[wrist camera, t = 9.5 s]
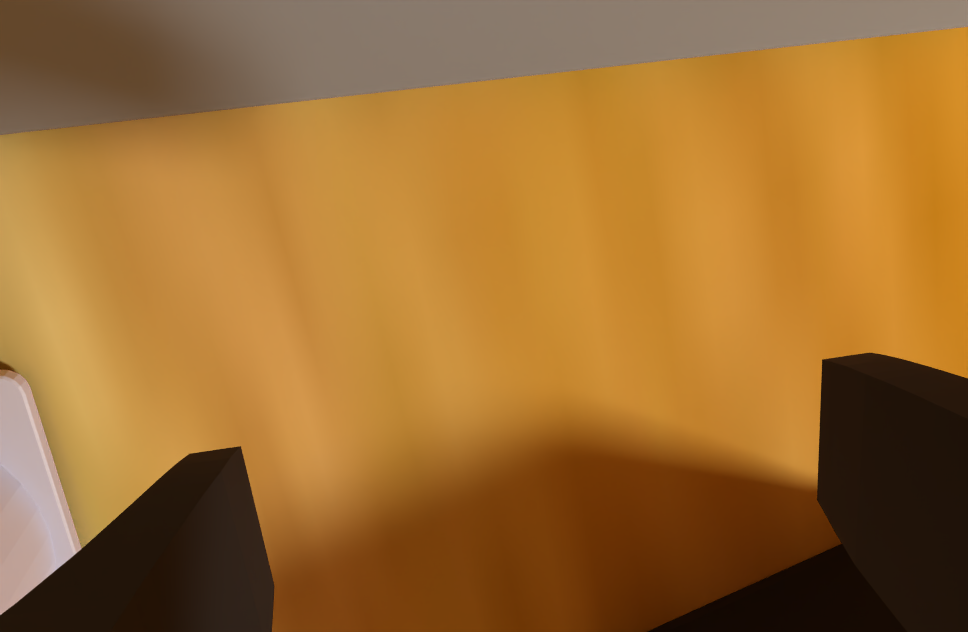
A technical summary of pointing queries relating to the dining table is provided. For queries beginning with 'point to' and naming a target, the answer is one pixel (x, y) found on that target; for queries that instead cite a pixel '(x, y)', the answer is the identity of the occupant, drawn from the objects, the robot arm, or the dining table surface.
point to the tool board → (375, 46)
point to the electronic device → (797, 602)
